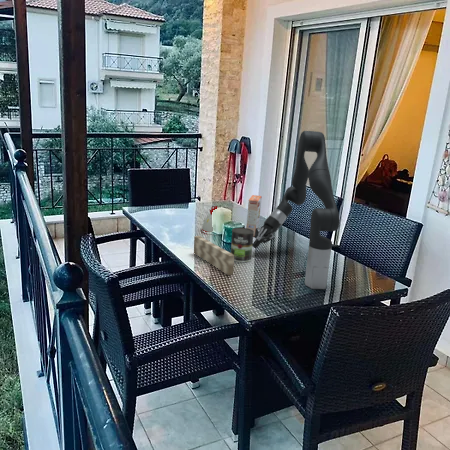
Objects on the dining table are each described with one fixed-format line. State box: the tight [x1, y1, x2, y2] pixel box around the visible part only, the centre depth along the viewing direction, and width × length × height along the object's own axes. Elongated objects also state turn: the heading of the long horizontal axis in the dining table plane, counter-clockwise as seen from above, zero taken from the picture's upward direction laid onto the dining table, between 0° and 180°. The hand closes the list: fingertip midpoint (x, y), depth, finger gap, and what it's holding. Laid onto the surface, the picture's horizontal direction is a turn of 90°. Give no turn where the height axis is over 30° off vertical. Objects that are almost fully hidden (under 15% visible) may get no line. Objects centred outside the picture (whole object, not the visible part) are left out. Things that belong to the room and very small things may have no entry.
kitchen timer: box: [201, 205, 218, 232], centre depth 256 cm, size 14×14×15 cm
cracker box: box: [245, 194, 262, 238], centre depth 257 cm, size 14×6×21 cm, turn 168°
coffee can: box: [230, 227, 254, 263], centre depth 216 cm, size 10×10×14 cm
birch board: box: [193, 235, 235, 276], centre depth 208 cm, size 30×2×9 cm, turn 34°
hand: (253, 247), depth 221 cm, fingers closed
